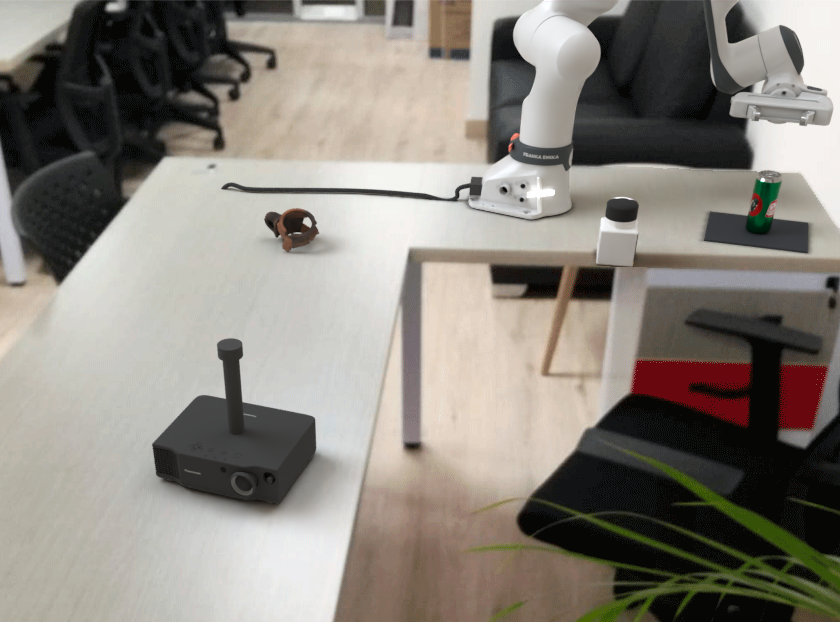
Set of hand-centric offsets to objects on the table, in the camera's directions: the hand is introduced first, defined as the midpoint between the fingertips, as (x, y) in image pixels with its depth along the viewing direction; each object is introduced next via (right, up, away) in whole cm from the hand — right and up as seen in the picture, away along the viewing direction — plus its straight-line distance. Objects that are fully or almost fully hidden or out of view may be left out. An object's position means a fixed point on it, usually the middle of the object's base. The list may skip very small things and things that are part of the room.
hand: (779, 119), depth 221 cm
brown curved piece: (-101, -25, 0) cm, 104 cm away
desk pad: (-4, -23, +2) cm, 23 cm away
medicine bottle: (-36, -31, -8) cm, 48 cm away
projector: (-106, -74, -66) cm, 145 cm away
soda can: (-4, -22, +2) cm, 23 cm away
